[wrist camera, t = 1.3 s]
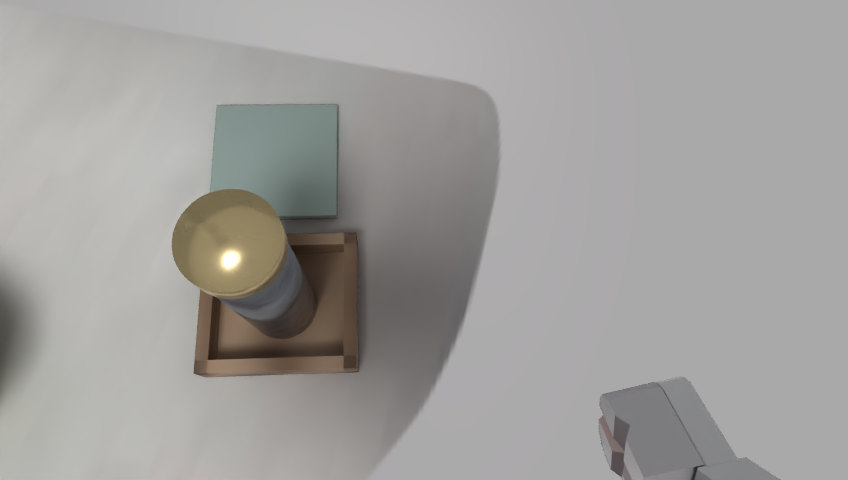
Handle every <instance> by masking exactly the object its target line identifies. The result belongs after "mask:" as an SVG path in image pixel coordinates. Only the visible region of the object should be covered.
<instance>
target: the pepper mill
mask: <svg viewBox="0 0 848 480" xmlns="http://www.w3.org/2000/svg"><path fill="white" fill-rule="evenodd" d="M172 252H173V257H174V260H175V262H176V265H177V267H178V268H179V270H180V272H181V273H182V274H183V275H184V276H185V277H186V278H187V279H188V280H189V281H190V282H192V283H193V284H194V285H196V286H197V287H198V288H200V289H201V290H202V291H204V292H206V293H207V294H210V295H212V296H214V297H217V298H218V299H219V300H220V301H222V302H223V303H224V304H226V305H227V306H228V307H229V308H231V309H232V310H233V311H235V312H236V313H237V314H238V315H240V316H241V317H242V318H243V319H245V320H246V321H247V322H249V323H250V324H251V325H252V326H254V327H255V328H256V329H257V330H259V331H260V332H261V333H263V334H264V335H266V336H268V337H271V338H275V339H288V338H292V337H295V336H297V335H299V334H300V333H302V332H303V331H305V330H306V329H307V328H308V327H309V325H310V324H311V323H312V321H313V319H314V317H315V314H316V310H317V299H316V295H315V292H314V290H313V288H312V286H311V285H310V283H309V281H308V279H307V277H306V275H305V273H304V271H303V269H302V268H301V266H300V264H299V262H298V260H297V258H296V256H295V254H294V252H293V251H292V249H291V247H290V245H289V243H288V240H287V235H286V232H285V229H284V227H283V225H282V223H281V221H280V219H279V217H278V215H277V213H276V212H275V210H274V209H273V207H272V206H271V205H270V204H269V203H268V202H267V201H266V200H264V199H263V198H262V197H260V196H258V195H256V194H254V193H252V192H249V191H246V190H240V189H223V190H218V191H214V192H211V193H209V194H206V195H204V196H202V197H201V198H199V199H197V200H196V201H195V202H193V203H192V204H191V205H190V206H189V207H188V208H187V209H186V210H185V211H184V212H183V214H182V215H181V217H180V218H179V220H178V222H177V224H176V226H175V229H174V232H173V237H172Z"/></svg>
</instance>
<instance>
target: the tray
mask: <svg viewBox="0 0 848 480" xmlns="http://www.w3.org/2000/svg"><path fill="white" fill-rule="evenodd" d="M286 235H287V240H288V243H289V245H290V247H291V249H292V251H293V252H294V254H295V256H296V258H297V260H298V262H299V264H300V266H301V268H302V269H303V271H304V273H305V275H306V277H307V279H308V281H309V283H310V285H311V286H312V288H313V290H314V292H315V295H316V299H317V310H316V314H315V317H314V319H313V321H312V323H311V324H310V325H309V327H308V328H307V329H306V330H305V331H303V332H302V333H300V334H299V335H297V336H295V337H292V338H288V339H275V338H271V337H268V336H266V335H264V334H263V333H261V332H260V331H259V330H257V329H256V328H255V327H254V326H252V325H251V324H250V323H249V322H247V321H246V320H245V319H243V318H242V317H241V316H240V315H238V314H237V313H236V312H235V311H233V310H232V309H231V308H229V307H228V306H227V305H226V304H224V303H223V302H222V301H220V300H219V299H218V298H217V297H214V296H212V295H210V294H207V293H206V292H204V291H202V290H201V289H200V301H199V313H198V325H197V338H196V350H195V363H194V374H197V375H200V376H203V377H226V376H255V375H284V374H313V373H342V372H358V242H357V236H356V233H308V234H286Z"/></svg>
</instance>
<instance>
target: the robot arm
mask: <svg viewBox="0 0 848 480" xmlns="http://www.w3.org/2000/svg"><path fill="white" fill-rule="evenodd" d="M600 408H601V410H602V412H603V416H602V417H601V418H600V419H599V434H600V438H601V444H602V447H603V450H604V453H605V456H606V459H607V461H608V464H609V466H610V469H611V470H612V471H614V472H615V473H616V474H618V475H619V476H621V477H622V480H780V479H778V478H777V477H775V476H774V475H772V474H771V473H769V472H768V471H766V470H765V469H763V468H762V467H760V466H758V465H757V464H755V463H753V462H752V461H751V460H749V459H748V458H746V457H745V458H739V459H737V457H736V456H735V454H734V452H733V451H732V449H731V447H730V446H729V444H728V443H727V441H726V439H725V438H724V436H723V434H722V433H721V431H720V430H719V428H718V426H717V425H716V423H715V421H714V420H713V418H712V417H711V415H710V413H709V412H708V410H707V409H706V407H705V405H704V404H703V402H702V400H701V399H700V398H699V395H698V394H697V392H696V391H695V389H694V387H693V386H692V384H691V382H689V381H688V380H687V379H686V378H684V377H678V378H673V379H669V380H664V381H660V382H655V383H654V382H652V383H648V384H644V385H640V386H636V387H631V388H627V389H623V390H619V391H614V392H610V393H606V394H603V395H602V396H601V397H600Z"/></svg>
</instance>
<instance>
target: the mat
mask: <svg viewBox="0 0 848 480" xmlns="http://www.w3.org/2000/svg"><path fill="white" fill-rule="evenodd" d="M337 142H338V107H337V105H217V108H216V121H215V134H214V146H213V159H212V171H211V184H210V193H211V192H214V191H218V190H223V189H240V190H246V191H249V192H252V193H254V194H256V195H258V196H260V197H262V198H263V199H264V200H266V201H267V202H268V203H269V204H270V205H271V206H272V207H273V209H274V210H275V212H276V213H277V215H278V217H279V219H310V218H337Z"/></svg>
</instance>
